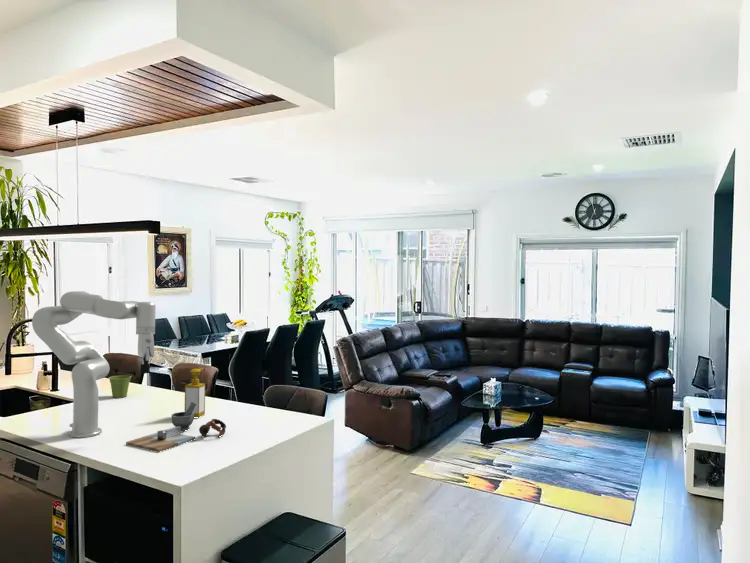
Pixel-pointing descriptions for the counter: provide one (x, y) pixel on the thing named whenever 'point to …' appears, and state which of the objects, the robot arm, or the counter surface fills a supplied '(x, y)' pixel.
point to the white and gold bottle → (195, 394)
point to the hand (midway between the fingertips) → (144, 373)
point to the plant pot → (119, 386)
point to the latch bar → (168, 433)
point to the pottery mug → (206, 427)
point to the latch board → (159, 442)
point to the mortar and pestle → (184, 418)
